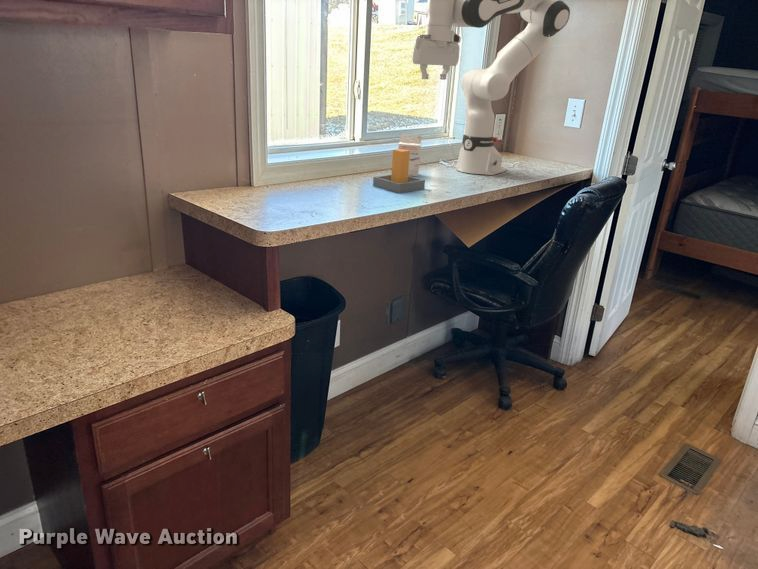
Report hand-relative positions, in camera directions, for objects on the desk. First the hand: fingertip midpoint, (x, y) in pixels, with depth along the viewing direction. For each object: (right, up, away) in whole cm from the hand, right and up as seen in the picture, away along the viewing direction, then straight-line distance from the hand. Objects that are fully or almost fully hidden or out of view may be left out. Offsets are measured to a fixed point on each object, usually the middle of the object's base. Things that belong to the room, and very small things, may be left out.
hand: (434, 79), depth 193 cm
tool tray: (-12, -37, 0) cm, 39 cm away
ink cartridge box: (-8, -29, +22) cm, 37 cm away
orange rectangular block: (-12, -37, 0) cm, 39 cm away
